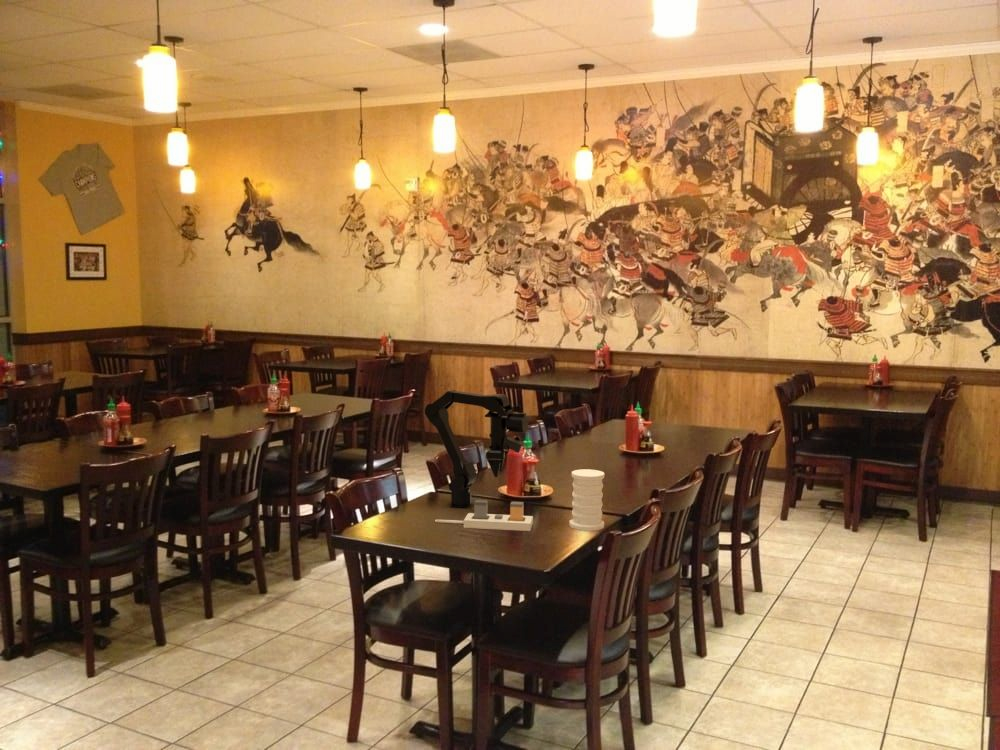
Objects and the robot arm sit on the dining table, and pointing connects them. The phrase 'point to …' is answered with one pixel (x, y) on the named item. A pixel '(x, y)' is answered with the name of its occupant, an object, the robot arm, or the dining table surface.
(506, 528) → the power strip
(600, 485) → the decorative container
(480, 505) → the twin plug
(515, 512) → the plug
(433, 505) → the dining table surface
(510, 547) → the dining table surface
